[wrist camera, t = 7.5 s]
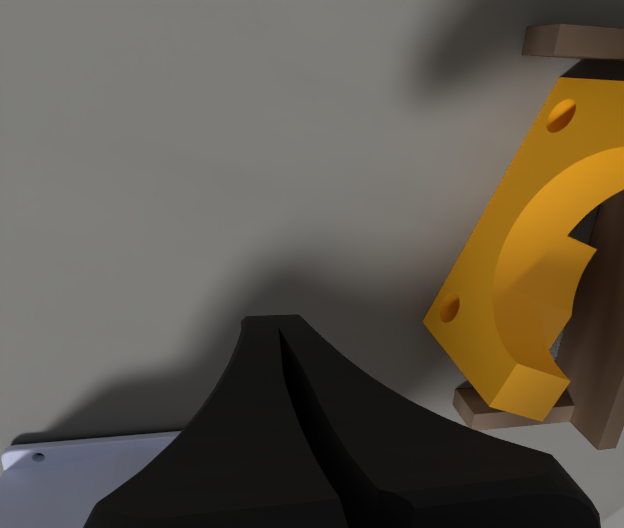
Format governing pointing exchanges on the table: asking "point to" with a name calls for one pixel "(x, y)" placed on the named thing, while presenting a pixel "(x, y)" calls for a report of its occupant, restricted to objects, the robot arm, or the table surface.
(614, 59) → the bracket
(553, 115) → the pipe clamp
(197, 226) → the table surface
